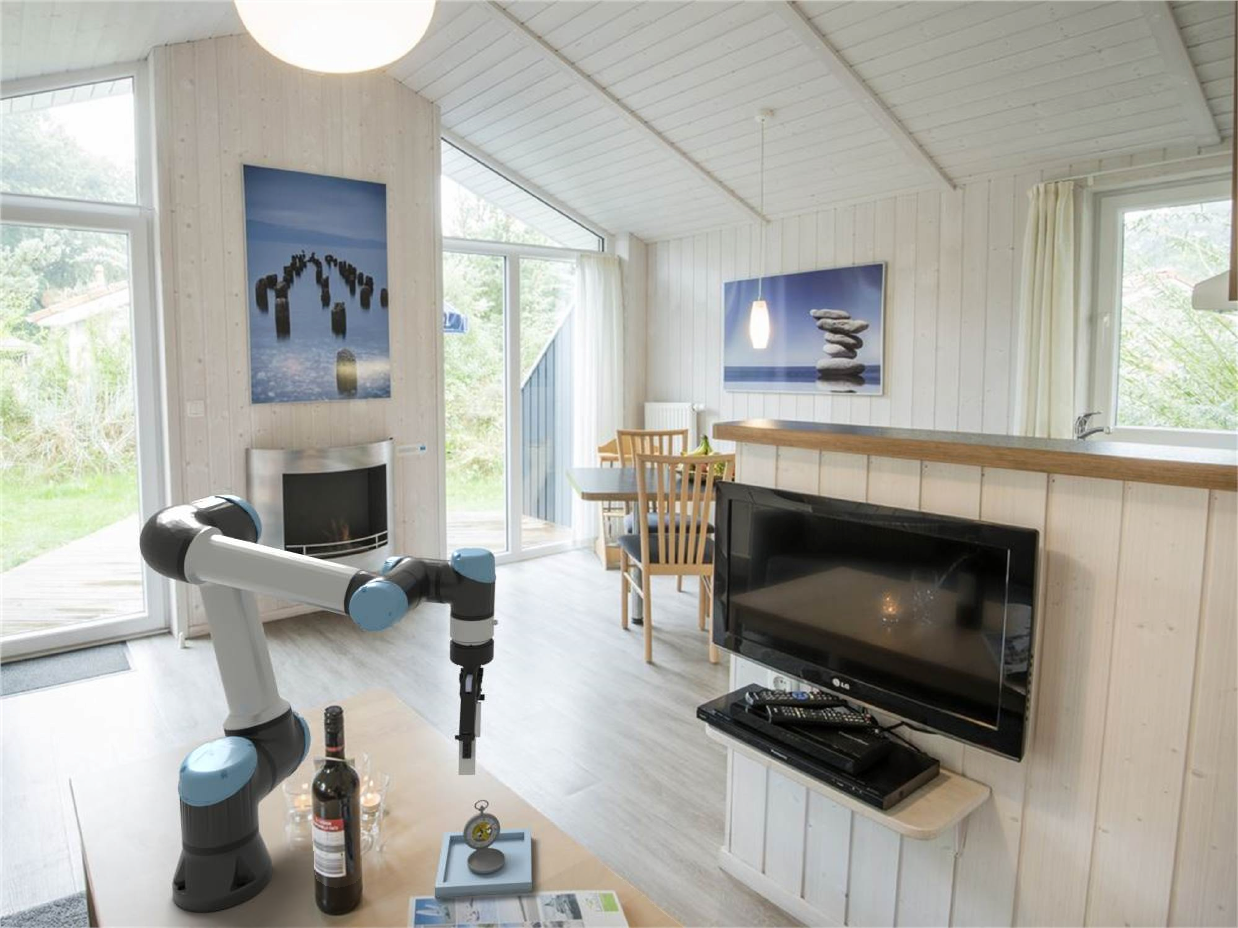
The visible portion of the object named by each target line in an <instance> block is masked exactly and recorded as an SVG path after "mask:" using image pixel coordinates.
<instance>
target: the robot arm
mask: <svg viewBox="0 0 1238 928" xmlns="http://www.w3.org/2000/svg"><path fill="white" fill-rule="evenodd" d="M262 531H263V528H262V521H261V518H260V516H259V513H258V511H256V509H255V507H253V506H252V505H251V503H249V502H248V501H246V500H244V499H243V498H242V497H239V496H236V495H234V494H219V495H209V496H205V497H202V498H198V499H195V500H191V501H187V502H184V503H181V504H175V505H174V504H173V505H171V506H167V507H164V508H162V509H160V510H159V511H157V512H155V513H154V514H153V515H151V516H150V517H149V518H148V520H147V521H146V523H144V526H143V527H142V529H141V531H140V536H139V543H138V544H139V549H140V554H141V556H142V558H143V560H144V561H145V562H146V564H147V565H148V566H149V568H151V569H152V570H153V571H154V572H157V573H158V574H159V575H161V576H164V577H166V578H169V579H171V580H175V581H179V582H182V583H188V584H190V585H195V586H197V587H198V588H199V592H200V596H201V597H200V598H201V600H202V605H203V609H204V614H205V616H206V621H207V626H208V629H209V633H210V637H211V641H212V642H211V643H212V646H213V650H214V654H215V658H216V662H217V667H218V671H219V675H220V679H221V684H222V687H223V692H224V696H225V699H226V703H227V709H228V712H229V713H228V714H227V717H226V718H225V719H224V721H223V723H222V728H223V731H224V735H225V736H224V737H219V738H216V739H214V740H213V741H212V742H205V743H203V744H200V746H198V747H196V748H194V749H193V750H192V751H190V752H189V753H188V755H186V757H185V758H184V759H183V761H182V763H181V765H180V767H179V771H178V772H179V776H178V782H177V783H178V784H177V790H178V791H177V792H178V795H179V808H180V809H179V810H180V824H181V825H180V826H181V828H180V830H181V840H182V841H181V844H182V845H181V847H182V849H181V853H180V856H179V859H178V863H177V866H176V869H175V872H174V874H173V878H172V883H171V886H172V887H171V888H172V899H173V901H174V903H175V905H177V907H179V908H181V909H183V910H186V911H189V912H196V913H209V912H216V911H217V912H218V911H220V910H225V909H228V908H229V909H230V908H232V907H234V906H236V905H239V904H242V903H244V902H246V901H248V900H249V899H252V898H253V897H254V896H255V895H257V894H259V893H260V892H261V891H262V890H263V889H264V888H265V887H266V886H267V885H268V884H269V881H270V880H271V878H272V873H273V872H272V871H273V870H272V867H273V866H272V857H271V855H270V853H269V852H270V851H269V850H268V848H267V846H266V843H265V841H264V839H263V837H262V835H261V833H260V823H259V822H260V821H259V820H260V819H259V804H260V803H261V801H263V800H264V799H265V798H266V797H267V796H268V795H269V794H271V792H273V791H274V790H275V789H276V788H277V787H278V786H279V785H281V783H282V782H284V781H285V780H286V779H287V778H289V777H290V776H292V775H293V774H294V773H295V772H296V771H297V770H298V768H299V767H300V765H301V764H302V763H304V762H305V759H306V758H307V756H308V754H309V751H310V748H311V742H312V741H311V740H312V738H311V731H310V730H311V729H310V728H309V725H308V723H307V720H305V718H304V717H301V716H300V715H299V713H298V712H297V711H296V710H294V709H292V705H291V704H292V703H291V702H290V701H288V700H286V699H284V698H282V697H280V693H279V689H278V686H277V685H278V684H277V681H276V676H275V672H274V669H273V668H274V667H273V664H272V660H271V659H272V658H271V654H270V650H269V646H268V642H267V639H266V634H265V630H264V625H263V621H262V616H261V612H260V608H259V605H258V600H257V596H256V594H259V595H263V596H267V597H270V598H276V599H280V600H283V601H288V602H290V603H295V604H300V605H303V606H308V607H311V608H316V609H320V610H322V611H323V610H324V611H328V612H332V613H334V614H335V613H336V614H340V615H344V616H348V617H351V619H352V621H353V622H354V623H355V624H356V625H357V626H358V627H359V628H360V629H362V630H364V631H366V632H369V633H378V632H381V631H384V630H386V629H388V628H391V627H393V626H394V625H396V624H398V623H399V622H400V621H401V620H402V619H403V618H404V617H405V616H407V615H408V614H410V612H412V611H413V610H415V609H416V608H417V607H419V606H420V605H422V604H424V603H430V604H431V603H432V604H448V605H449V606H450V611H449V612H450V614H449V637H450V638H451V639H450V641H449V660H450V661H451V663H453V664H454V665H456V666H460V673H459V676H458V681H459V684H460V685H459V694H458V695H459V698H460V708H459V727H458V734H455V735H454V740H456V741H457V740H458V776H475V775H476V758H477V757H476V756H477V755H476V754H477V753H476V750H477V749H476V747H477V738H481V734H482V733H481V729H482V728H481V727H482V726H481V722H482V702H483V701H484V702H485V699H486V694H485V693H482V691H483V688H482V684H483V679H484V678H483V677H484V670H485V669H484V667H482V666H485V665H488V664H490V663H491V662H492V661H493V660H494V657H495V655H494V654H495V653H494V652H495V651H494V650H495V639H494V638H493V637H494V634H495V626H497V625H499V620H498V619H495V602H496V601H495V599H496V580H497V575H496V559H495V555H494V553H493V552H492V551H490V550H489V549H486V548H480V547H470V548H468V547H464V548H459V549H455V550H453V552H452V553H451V557H450V559H439V558H427V557H426V558H425V557H418V556H416V557H415V556H410V555H404V556H390V557H388V558H387V559H386V560H385V561H384V564H383V565H382V567H381V568H380V571H379V572H374V571H369V570H365V569H362V568H358V567H355V566H354V567H353V566H349V565H345V564H341V563H337V562H333V561H328V560H325V559H320V558H316V557H313V556H307V555H304V554H299V553H296V552H291V551H287V550H284V549H279V548H275V547H271V546H266V545H263V544H259V540H260V539H261V537H262V533H263V532H262Z"/></svg>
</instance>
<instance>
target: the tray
mask: <svg viewBox="0 0 1238 928" xmlns="http://www.w3.org/2000/svg"><path fill="white" fill-rule="evenodd" d="M531 828H532V827H527V828H526V827H525V828H508V829H507V828H505V829H500V833H499V836H498V838H497V840H496V841H495V842H494V843H493V844H492V845H490V846H489V847H488V848H494V849H498V850H500V851H501V852H502V853H503V854H504V856H505V862H504V865H503V866H502V867H501V868H500V869H498V870H497V871H494V872H492V873H476V872H474V871H472V870H471V869H469V867H468V865H467V859H468V857H469V855H470V854H471V853H473V852H474V851H476V849H472V848H470V847H469V846H468V845H467V844H466V843H465V841H464V838H463V831H464V830H462V831H444V832H443V836H442V843H441V848H440V855H439V861H438V866H437V874H436V878H435V885H434V898H450V897H452V898H453V897H467V896H468V897H469V896H483V895H484V896H485V895H486V896H487V895H502V894H517V893H518V894H520V893H531V892H532V830H531ZM487 831H488V830H487ZM490 831H491V829H490V830H489V831H488V833H490ZM480 834H481V833H480ZM480 834H479V833H478V834H477V836H478V835H480ZM472 835H473V834H472ZM486 835H487V834H486ZM473 836H474V837H475V835H473ZM476 838H477V839H481V837H480V838H479V837H476ZM476 838H475V839H476ZM482 839H483V838H482Z"/></svg>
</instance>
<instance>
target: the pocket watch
mask: <svg viewBox="0 0 1238 928" xmlns="http://www.w3.org/2000/svg"><path fill="white" fill-rule="evenodd" d="M479 802H485V803H486V805H485V807H484V805H483V804H482V805H480V807H479V808H478V807H477V805H478V803H479ZM489 804H490V803H489V801H488V800H486V799H479V800H478V801H477V802H475V803H474V805H473V806H474V809H476V810H477V811H478V812H479V813H477V814H475V815H473V816H471V817H470V818H469V819H468V820H467V821H466V823H465V825H464V828H463V830H462V831H463V838H464V841H465V843H466V844H467V845H468V846H469V847H470V848H472V849H476V851H474V852H473V853H471V854H470V855H469V857H468V859H467V865H468V867H469V869H471V870H472V871H474V872H476V873H492V872H494V871H497V870H498V869H500V868H501V867H502V866H503V865H504V862H505V856H504V854H503V853H502V852H501V851H500V850H498V849H494V848H488V847H489V846H490V845H492V844H493V843H494V842H495V841H496V840H497V838H498V836H499V833H500V830H501V824H500V821H499V819H498V818H497V817H496V816H495V815H494V814H492V813H489V812H484V811H485V810H486V809H487V808H488V807H489ZM487 830H488V831H489V830H491V831H490V833H488V831H487ZM478 833H479V834H480V833H481V834H480V835H478V836H477V834H478ZM472 834H473V835H475V837H474V836H473V835H472ZM486 834H487V835H486ZM476 837H479V838H480V837H481V839H477V838H476ZM475 838H476V839H475ZM482 838H483V839H482Z"/></svg>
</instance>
